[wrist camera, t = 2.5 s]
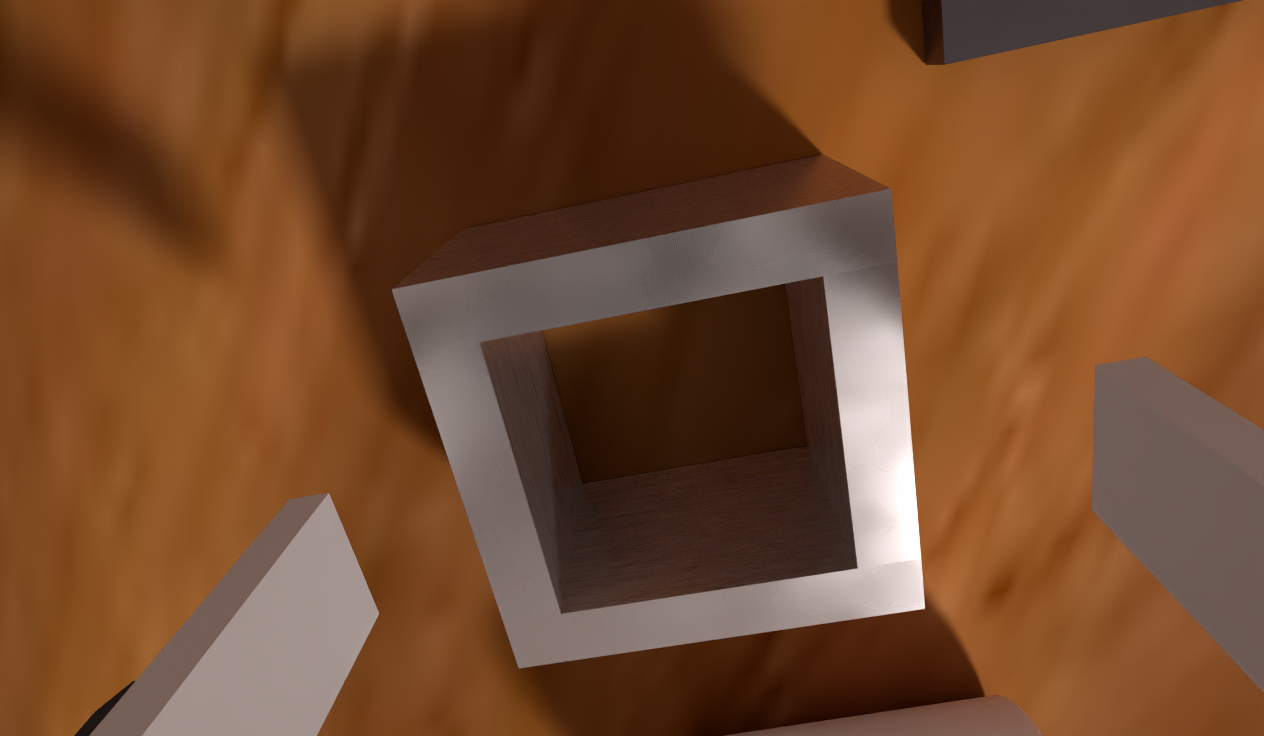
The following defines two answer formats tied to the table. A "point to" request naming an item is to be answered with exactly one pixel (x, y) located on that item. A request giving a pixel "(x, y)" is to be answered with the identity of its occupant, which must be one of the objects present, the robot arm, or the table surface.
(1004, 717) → the mug
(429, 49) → the table surface
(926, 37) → the keeper
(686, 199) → the link
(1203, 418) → the robot arm
